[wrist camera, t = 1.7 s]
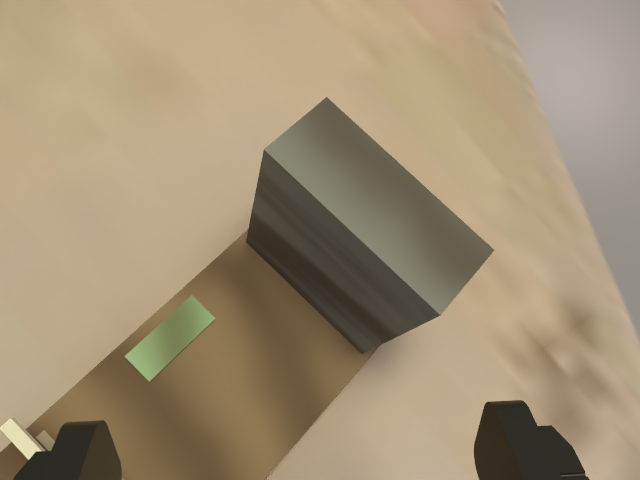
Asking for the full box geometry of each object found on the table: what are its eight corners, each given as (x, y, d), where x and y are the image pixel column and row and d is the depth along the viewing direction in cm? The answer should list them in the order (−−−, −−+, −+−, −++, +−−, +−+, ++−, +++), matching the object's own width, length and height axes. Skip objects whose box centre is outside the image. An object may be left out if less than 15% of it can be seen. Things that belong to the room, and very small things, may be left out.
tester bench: (-21, 803, 24) (-271, 1210, 11) (-176, 619, 25) (-560, 810, 12) (408, 307, 36) (515, 243, 23) (291, 197, 37) (333, 77, 24)
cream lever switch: (95, 551, 26) (82, 566, 23) (-1, 447, 26) (-25, 449, 24) (144, 500, 27) (136, 508, 24) (51, 401, 28) (33, 398, 25)
